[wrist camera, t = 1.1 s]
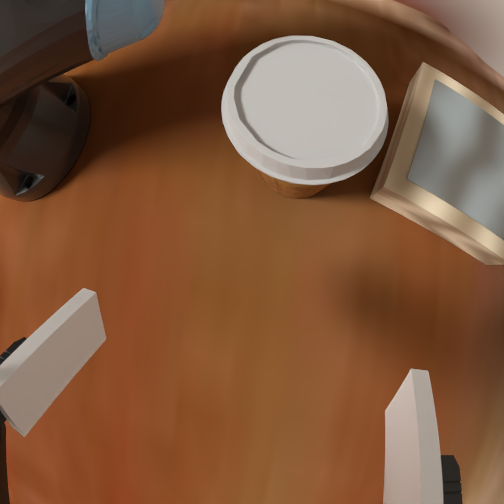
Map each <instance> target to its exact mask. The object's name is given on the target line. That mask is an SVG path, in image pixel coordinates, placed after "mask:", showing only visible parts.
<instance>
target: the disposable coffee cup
mask: <svg viewBox="0 0 504 504" xmlns="http://www.w3.org/2000/svg"><path fill="white" fill-rule="evenodd" d="M221 111H222V120H223V124H224V127H225V130H226V132H227V135H228V137H229V139H230V141H231V142H232V144H233V145H234V147H235V148H236V150H237V151H238V152H239V154H240V155H241V156H242V157H243V158H244V159H246V160H247V161H248V162H249V163H250V164H251V165H253V166H254V167H255V168H257V170H258V172H259V173H260V174H261V175H262V177H263V178H264V180H265V182H266V183H267V184H268V186H269V187H270V188H271V189H272V190H274V191H275V192H277V193H278V194H281V195H283V196H285V197H289V198H296V199H300V198H307V197H310V196H313V195H314V194H316V193H318V192H319V191H321V190H322V189H324V188H325V187H326V186H328V185H330V184H331V183H333V182H337V181H341V180H345V179H347V178H349V177H351V176H353V175H354V174H356V173H358V172H360V171H361V170H363V169H364V168H365V167H366V166H367V165H368V164H369V163H371V162H372V161H373V159H374V158H375V157H376V156H377V154H378V153H379V151H380V149H381V148H382V146H383V144H384V141H385V138H386V135H387V130H388V123H389V121H388V108H387V103H386V98H385V92H384V89H383V87H382V84H381V82H380V80H379V78H378V77H377V75H376V73H375V72H374V71H373V69H372V68H371V67H370V66H369V65H368V63H367V62H366V61H365V60H363V59H362V58H361V57H360V56H358V55H357V54H356V53H355V52H353V51H352V50H350V49H348V48H346V47H344V46H342V45H340V44H338V43H336V42H334V41H331V40H327V39H323V38H319V37H315V36H287V37H282V38H277V39H273V40H271V41H268V42H266V43H263V44H261V45H260V46H258V47H257V48H255V49H253V50H252V51H251V52H249V53H248V54H247V55H246V56H244V57H243V58H242V60H241V61H240V62H239V63H238V65H237V66H236V67H235V69H234V71H233V73H232V75H231V77H230V78H229V80H228V82H227V85H226V87H225V90H224V93H223V97H222V106H221Z"/></svg>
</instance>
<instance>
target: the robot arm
mask: <svg viewBox="0 0 504 504" xmlns="http://www.w3.org/2000/svg"><path fill="white" fill-rule="evenodd" d="M163 10H164V0H0V194H1V195H3V196H5V197H7V198H11V199H14V200H18V201H24V202H26V201H32V200H36V199H38V198H40V197H42V196H44V195H46V194H47V193H48V192H50V191H51V190H52V189H54V188H55V187H56V186H57V185H58V184H59V183H60V182H61V181H62V180H63V178H64V177H65V176H66V175H67V173H68V172H69V171H70V169H71V168H72V166H73V165H74V163H75V161H76V160H77V158H78V156H79V154H80V152H81V150H82V147H83V145H84V142H85V140H86V136H87V133H88V129H89V123H90V104H89V100H88V97H87V95H86V93H85V91H84V90H83V89H82V88H81V87H80V86H79V85H78V84H77V83H76V82H75V81H74V80H73V79H71V78H70V77H68V76H66V75H64V74H63V73H66V72H68V71H70V70H72V69H74V68H76V67H79V66H81V65H83V64H85V63H88V62H90V61H92V60H96V61H99V60H102V59H103V58H104V57H106V56H107V55H108V54H109V53H111V52H113V51H115V50H118V49H120V48H123V47H125V46H128V45H130V44H133V43H135V42H138V41H140V40H143V39H144V38H146V37H148V36H149V35H150V34H151V33H152V32H153V31H154V30H155V29H156V28H157V26H158V25H159V23H160V21H161V18H162V15H163ZM105 340H106V335H105V331H104V326H103V322H102V318H101V313H100V309H99V304H98V299H97V294H96V292H94V291H91V290H88V289H85V288H83V289H82V290H80V291H79V292H78V293H77V294H76V295H75V296H74V297H72V298H71V299H70V300H69V301H68V302H67V303H66V304H65V305H63V306H62V307H61V308H60V309H59V310H58V311H57V312H56V313H54V314H53V315H52V316H51V317H50V318H49V319H48V320H47V321H46V322H45V323H44V324H42V325H41V326H40V327H39V328H38V329H37V330H36V331H35V332H34V333H33V334H32V335H31V336H30V337H29V338H28V339H26V338H25V337H24V338H22V339H20V340H18V341H16V342H14V343H13V344H12V345H11V346H10V347H9V348H8V349H7V350H6V352H4V353H2V354H1V355H0V504H10V502H9V492H8V481H7V465H6V427H5V424H4V422H5V421H6V420H7V421H8V422H9V423H10V425H11V426H12V427H13V428H14V429H15V430H16V431H18V432H19V433H20V434H21V435H23V436H24V437H25V436H26V435H27V434H28V432H29V431H30V430H31V428H32V427H33V426H34V425H35V423H36V422H37V421H38V420H39V418H40V417H41V416H42V415H43V413H44V412H45V411H46V410H47V408H48V407H49V406H50V405H51V404H52V402H53V401H54V400H55V399H56V397H57V396H58V395H59V394H60V393H61V391H62V390H63V389H64V388H65V387H66V385H67V384H68V383H69V382H70V381H71V379H72V378H73V377H74V376H75V375H76V374H77V372H78V371H79V370H80V369H81V368H82V366H83V365H84V364H85V363H86V362H87V361H88V359H89V358H90V357H91V356H92V355H93V354H94V353H95V351H96V350H97V349H98V348H99V347H100V346H101V345H102V343H103V342H104V341H105ZM460 481H461V478H460V468H459V465H458V463H457V461H456V459H455V458H454V456H453V455H440V445H439V436H438V428H437V420H436V413H435V407H434V400H433V394H432V388H431V383H430V377H429V372H428V371H426V370H418V369H411V370H410V371H409V373H408V375H407V377H406V378H405V380H404V382H403V383H402V385H401V387H400V388H399V390H398V392H397V393H396V395H395V396H394V398H393V400H392V401H391V403H390V404H389V406H388V407H387V409H386V410H385V479H384V498H383V504H462V494H461V491H462V490H461V483H460Z"/></svg>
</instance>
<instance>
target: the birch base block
mask: <svg viewBox="0 0 504 504" xmlns="http://www.w3.org/2000/svg"><path fill="white" fill-rule="evenodd" d="M370 199H372V200H374V201H376V202H378V203H380V204H382V205H384V206H386V207H388V208H390V209H391V210H393V211H395V212H397V213H399V214H401V215H403V216H405V217H406V218H408V219H410V220H412V221H414V222H415V223H417V224H419V225H421V226H423V227H424V228H426V229H428V230H430V231H431V232H433V233H435V234H437V235H438V236H440V237H442V238H444V239H445V240H447V241H449V242H450V243H452V244H454V245H455V246H457V247H459V248H460V249H462V250H463V251H465V252H467V253H468V254H470V255H472V256H473V257H475V258H476V259H478V260H480V261H481V262H483V263H484V264H486V265H501V264H504V114H502V113H501V112H500V111H499V110H497V109H496V108H495V107H493V106H492V105H490V104H489V103H488V102H486V101H485V100H483V99H482V98H481V97H479V96H478V95H476V94H475V93H473V92H472V91H470V90H469V89H467V88H466V87H464V86H463V85H461V84H460V83H458V82H457V81H455V80H453V79H452V78H450V77H448V76H447V75H445V74H444V73H442V72H440V71H438V70H437V69H435V68H433V67H431V66H430V65H428V64H426V63H424V62H423V63H422V64H421V66H420V67H419V69H418V70H417V72H416V73H415V75H414V76H413V78H412V79H411V81H410V83H409V86H408V89H407V92H406V96H405V99H404V102H403V105H402V108H401V112H400V115H399V118H398V121H397V124H396V127H395V130H394V133H393V136H392V139H391V141H390V144H389V147H388V150H387V153H386V156H385V158H384V161H383V164H382V167H381V169H380V172H379V175H378V177H377V180H376V183H375V185H374V188H373V190H372V193H371V196H370Z"/></svg>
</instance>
